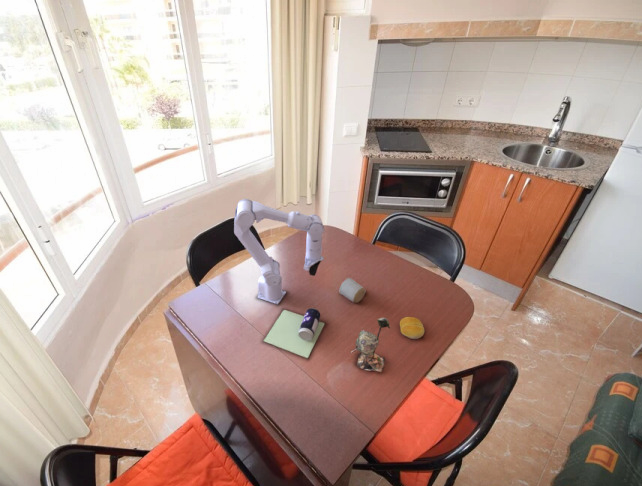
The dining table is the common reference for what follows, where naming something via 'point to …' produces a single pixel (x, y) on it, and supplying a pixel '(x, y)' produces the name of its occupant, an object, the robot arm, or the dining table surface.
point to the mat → (291, 334)
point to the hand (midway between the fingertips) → (312, 274)
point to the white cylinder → (352, 290)
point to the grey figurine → (370, 348)
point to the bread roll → (411, 327)
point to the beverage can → (309, 324)
